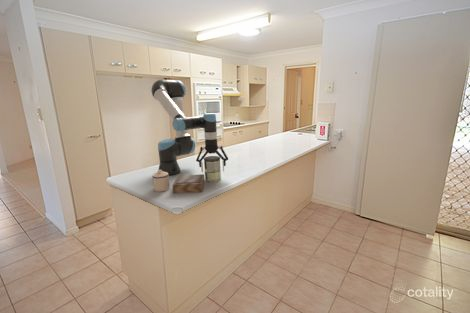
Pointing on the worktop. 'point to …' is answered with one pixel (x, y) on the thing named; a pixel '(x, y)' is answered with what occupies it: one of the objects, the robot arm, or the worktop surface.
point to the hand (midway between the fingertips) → (212, 171)
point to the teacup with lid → (161, 181)
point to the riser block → (188, 183)
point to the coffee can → (212, 168)
